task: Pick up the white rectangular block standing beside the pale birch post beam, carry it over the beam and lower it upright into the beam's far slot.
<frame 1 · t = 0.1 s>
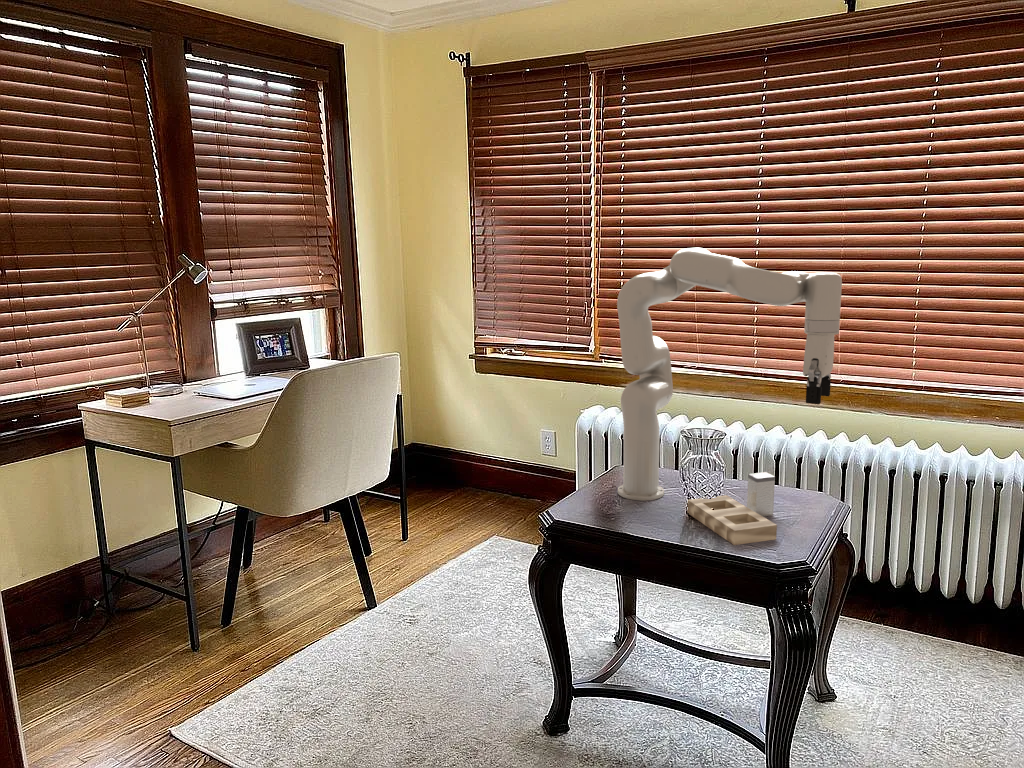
hand: (817, 399, 188), 31 cm above the table, tool pointing down, fingers open, 9 cm apart
post beam: (729, 525, 194), on the table
white rectangular block: (759, 513, 202), on the table
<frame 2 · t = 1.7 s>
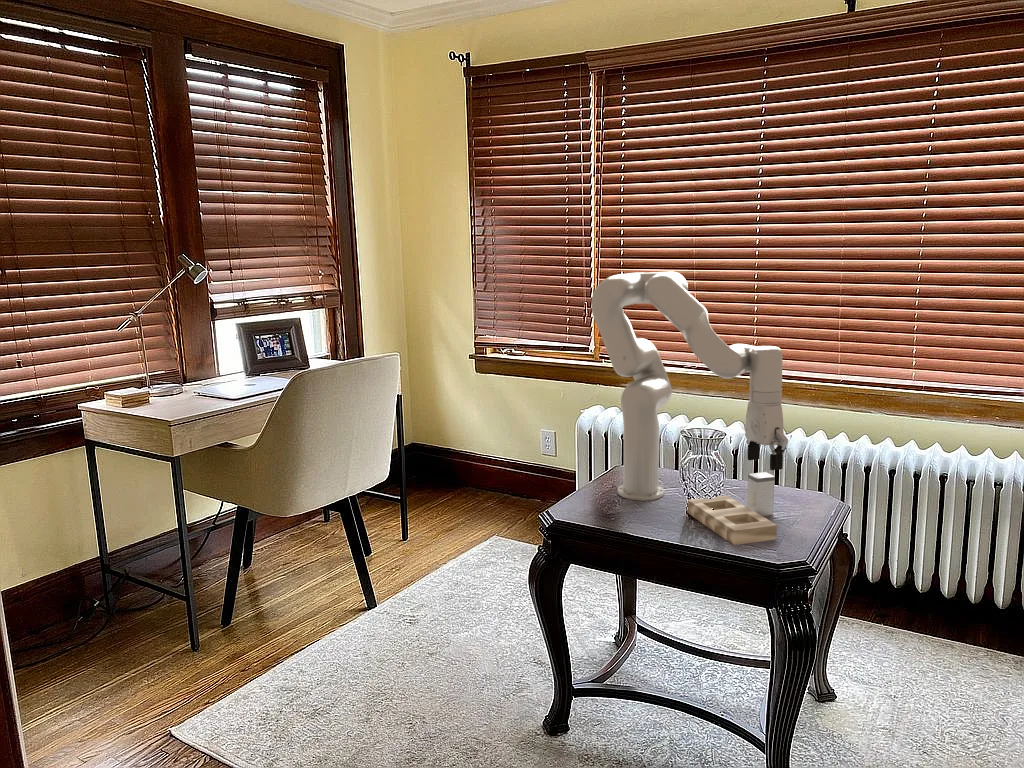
hand: (764, 464, 199), 13 cm above the table, tool pointing down, fingers open, 9 cm apart
nothing on the table moved.
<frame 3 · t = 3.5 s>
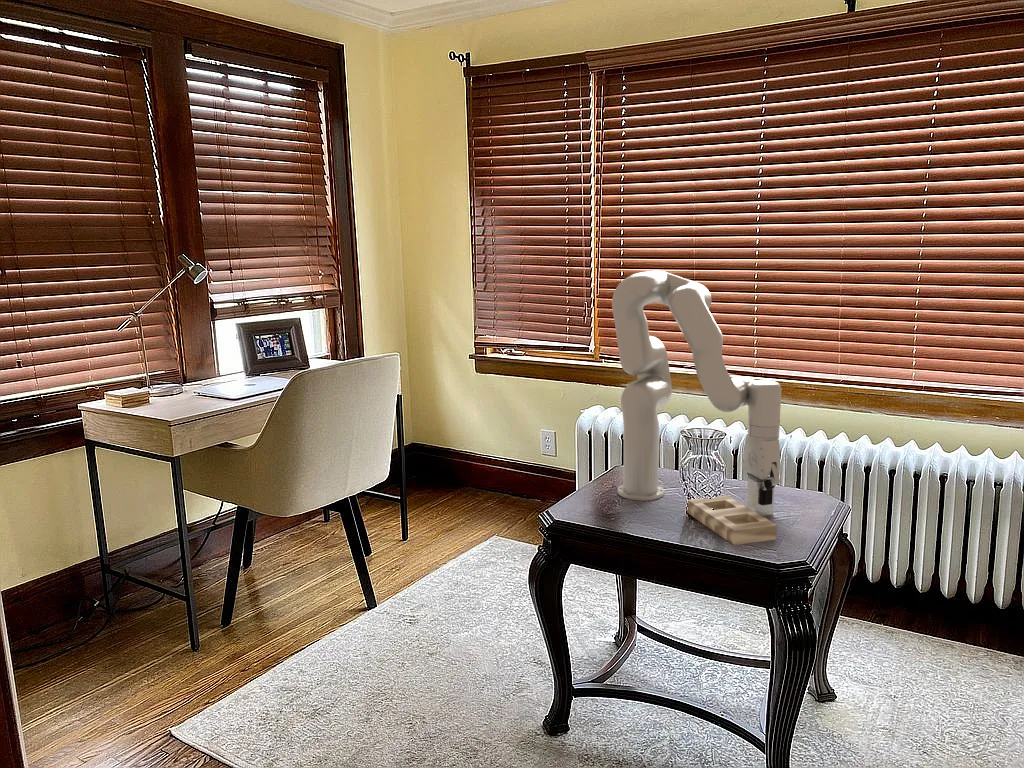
hand: (760, 500, 201), 3 cm above the table, tool pointing down, fingers closed on white rectangular block, 4 cm apart
white rectangular block: (759, 513, 202), on the table, touching gripper
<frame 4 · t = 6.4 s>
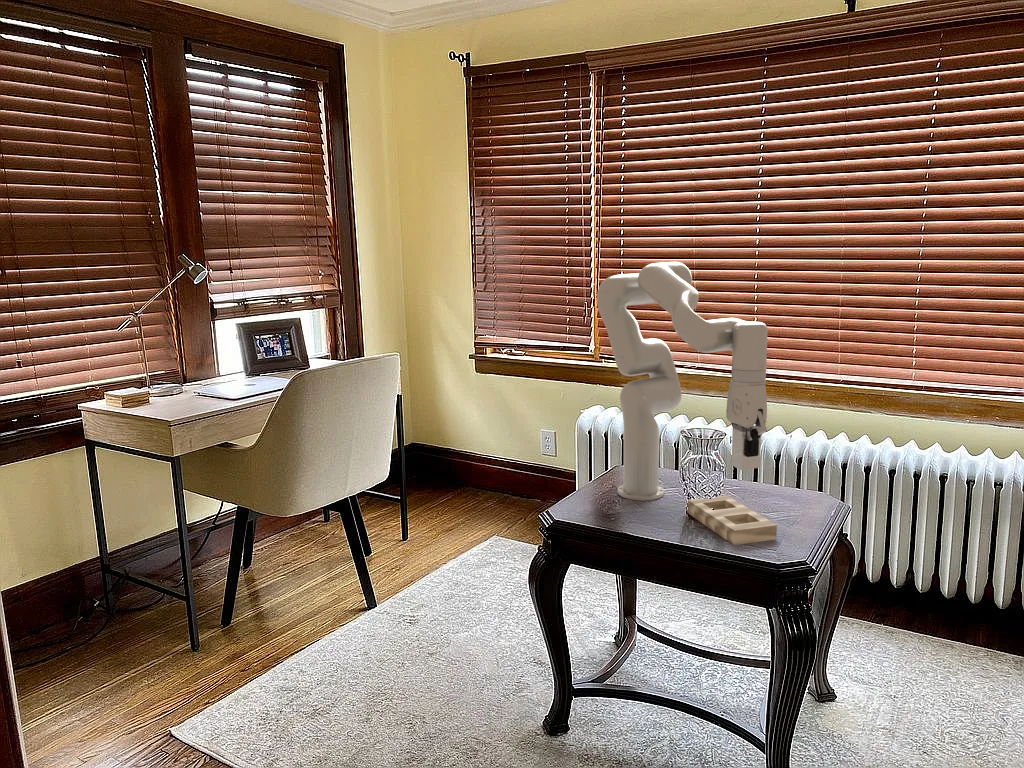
hand: (745, 452, 186), 19 cm above the table, tool pointing down, fingers closed on white rectangular block, 4 cm apart
white rectangular block: (745, 466, 187), point 16 cm above the table, touching gripper
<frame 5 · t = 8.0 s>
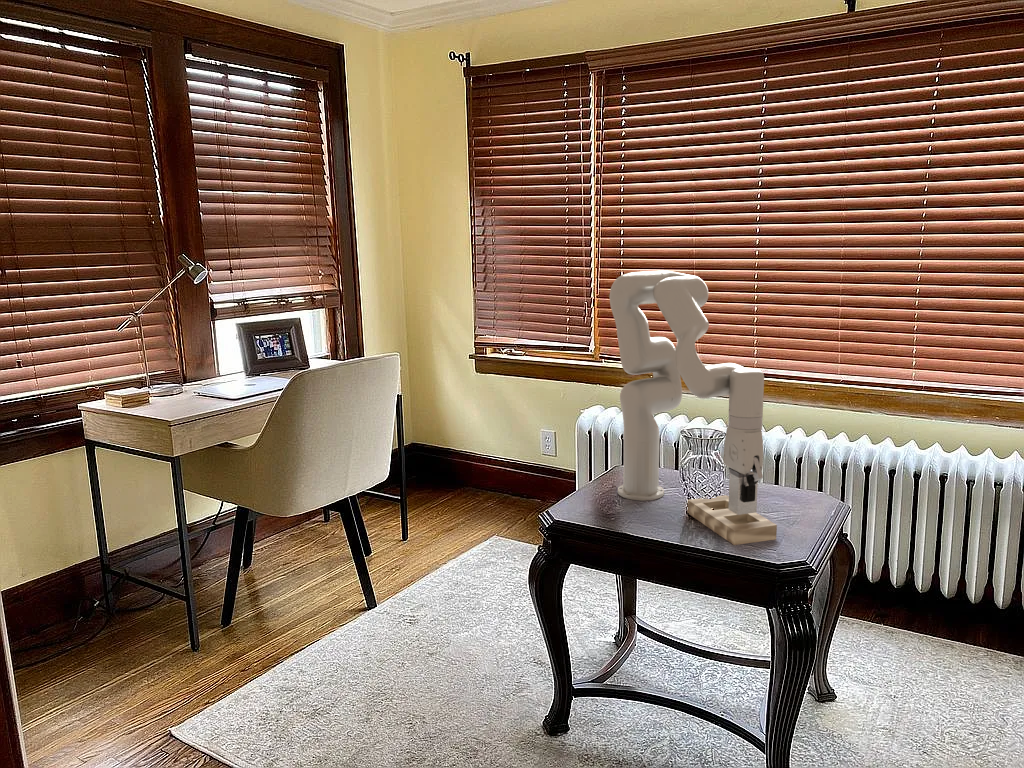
hand: (742, 497, 187), 9 cm above the table, tool pointing down, fingers closed on white rectangular block, 4 cm apart
white rectangular block: (742, 510, 188), point 5 cm above the table, touching gripper
when the fingers open (5 cm above the table, at t = 9.1 s): white rectangular block drops 1 cm, resting in post beam.
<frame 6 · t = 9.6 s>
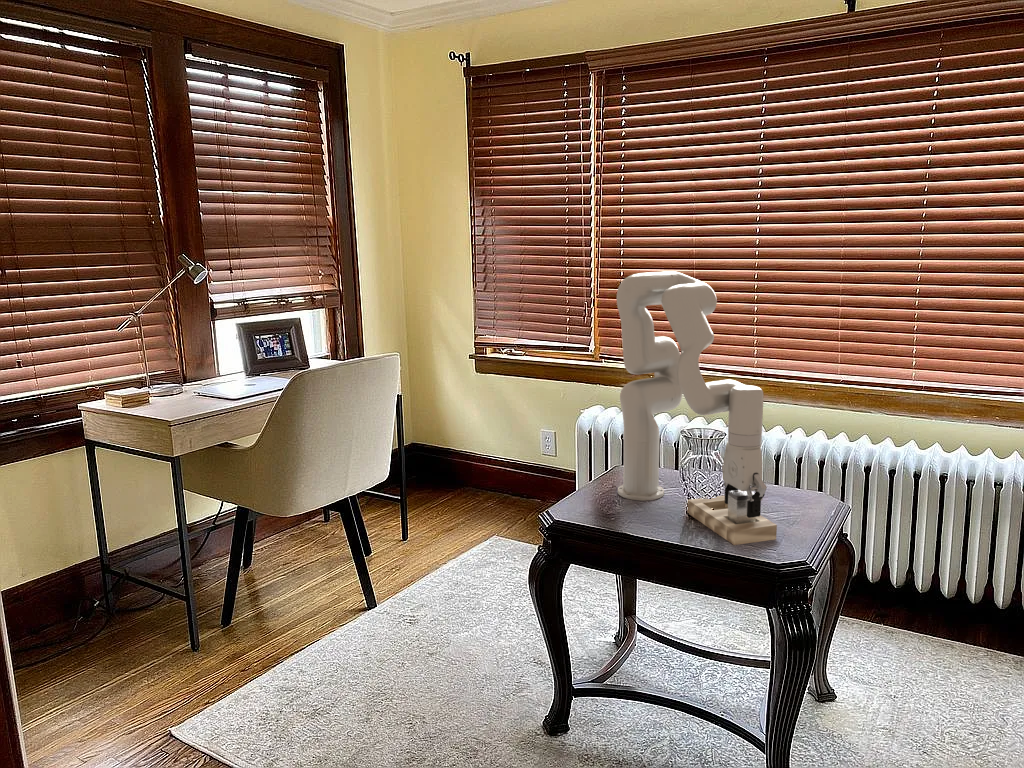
hand: (741, 509, 188), 6 cm above the table, tool pointing down, fingers open, 9 cm apart
white rectangular block: (740, 532, 189), resting in post beam
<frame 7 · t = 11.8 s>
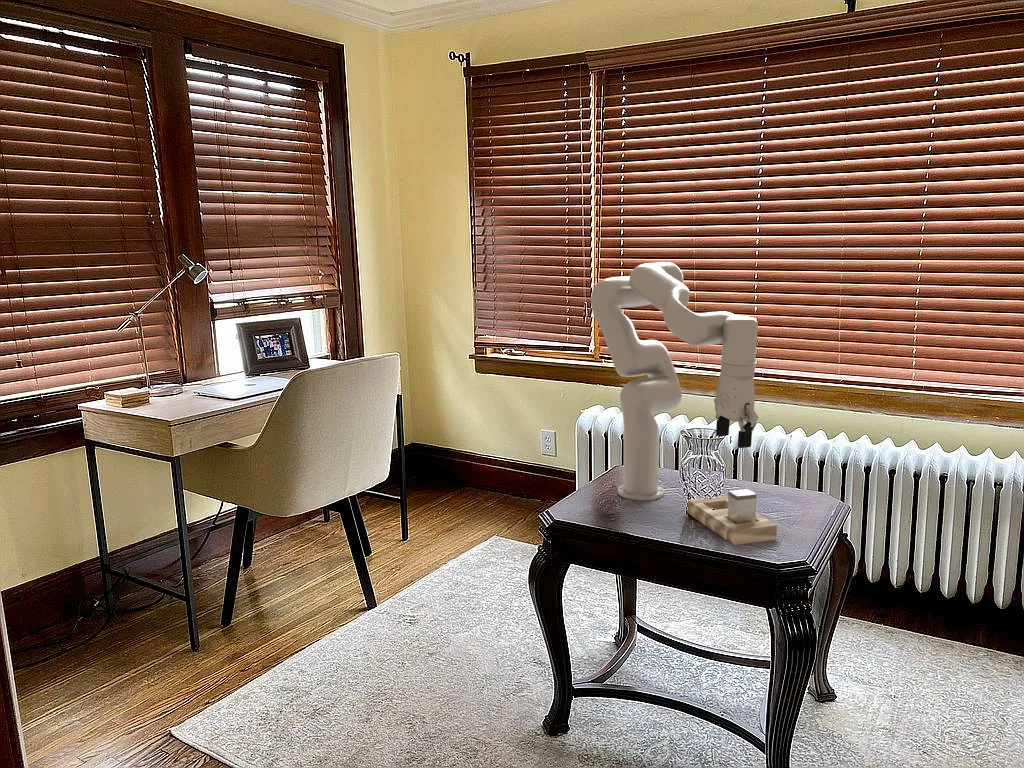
hand: (733, 441, 188), 21 cm above the table, tool pointing down, fingers open, 9 cm apart
nothing on the table moved.
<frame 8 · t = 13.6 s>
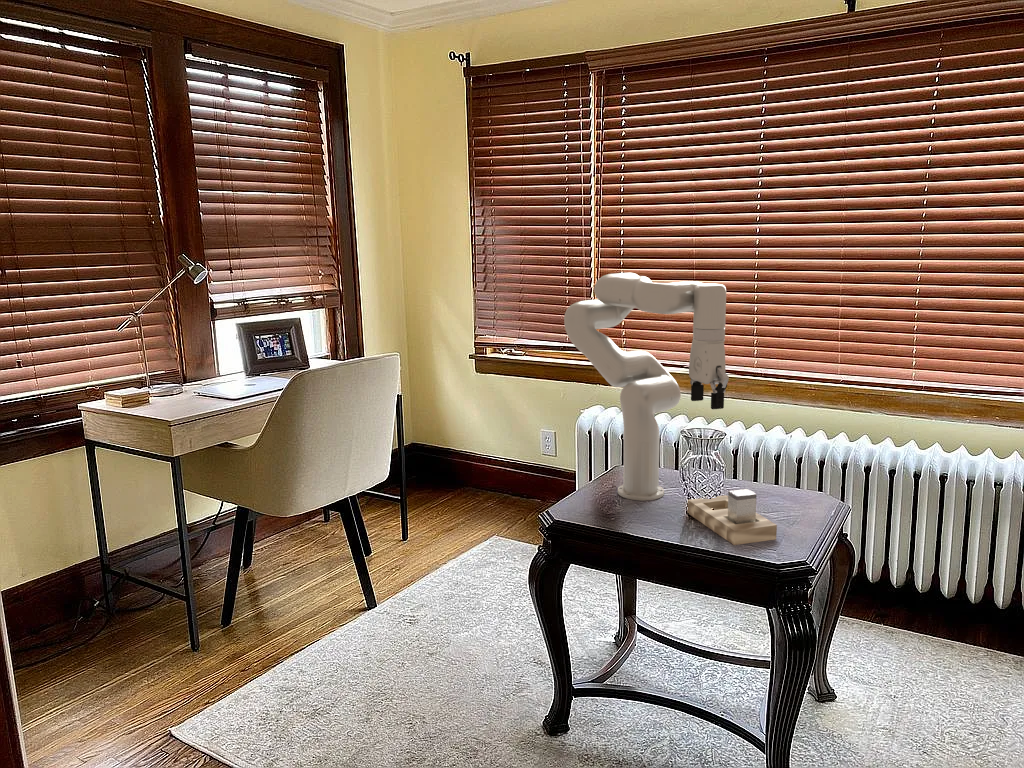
hand: (706, 404, 196), 28 cm above the table, tool pointing down, fingers open, 9 cm apart
nothing on the table moved.
at the end: white rectangular block 0.1 cm from the target spot on the post beam, point 0.0 cm above the post beam's base; white rectangular block tilted 0°; the gripper is holding nothing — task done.
